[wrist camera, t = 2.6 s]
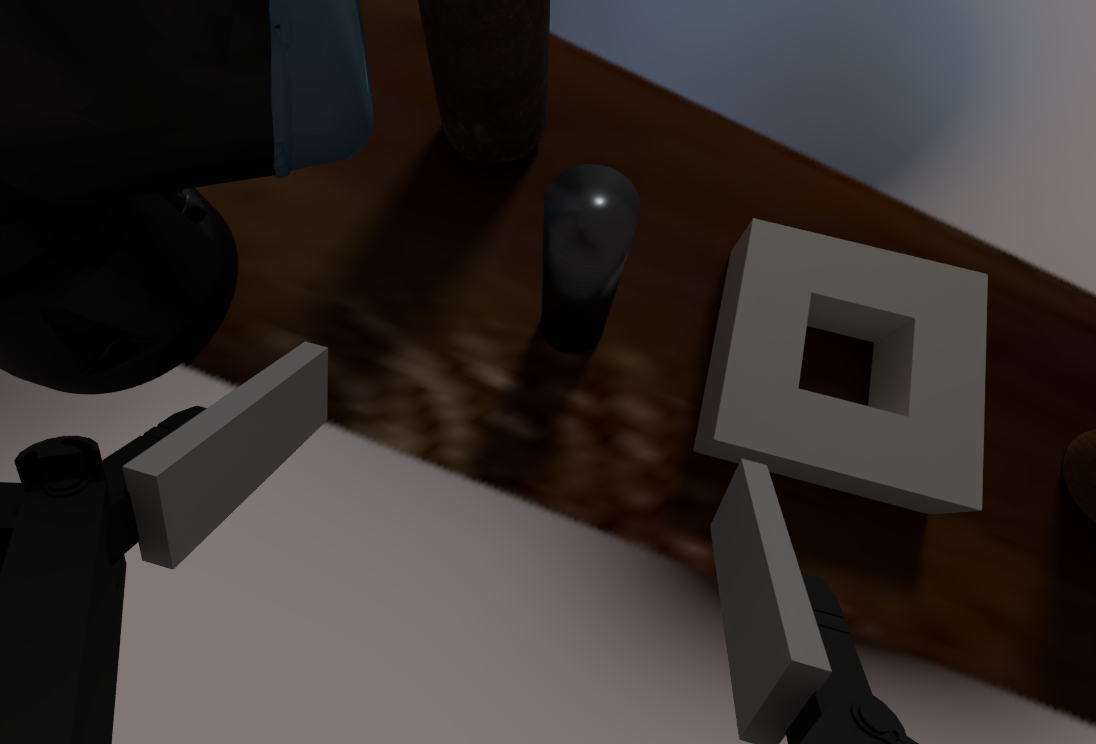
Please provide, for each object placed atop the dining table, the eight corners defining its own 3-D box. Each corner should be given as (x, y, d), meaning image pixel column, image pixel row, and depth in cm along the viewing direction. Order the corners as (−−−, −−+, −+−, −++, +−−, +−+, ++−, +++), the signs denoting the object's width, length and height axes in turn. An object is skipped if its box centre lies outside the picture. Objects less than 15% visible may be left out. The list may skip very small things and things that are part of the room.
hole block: (693, 451, 32) (713, 439, 29) (730, 252, 37) (753, 218, 33) (928, 514, 32) (982, 510, 28) (939, 303, 36) (987, 274, 32)
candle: (564, 157, 39) (591, -218, 20) (468, 191, 38) (397, -168, 19) (522, 79, 41) (509, -329, 22) (430, 109, 40) (331, -291, 21)
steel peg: (534, 345, 34) (532, 233, 22) (550, 289, 36) (558, 154, 23) (595, 361, 34) (629, 257, 22) (609, 305, 35) (649, 176, 23)
